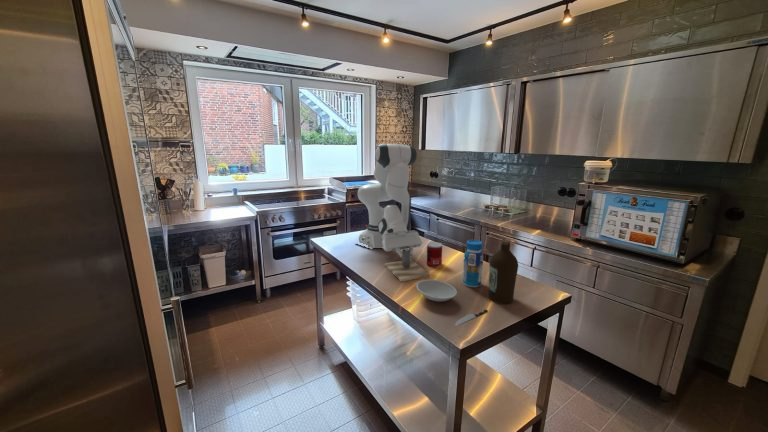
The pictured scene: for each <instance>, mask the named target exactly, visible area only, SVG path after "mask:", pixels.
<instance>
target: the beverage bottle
mask: <svg viewBox="0 0 768 432" xmlns="http://www.w3.org/2000/svg"><path fill="white" fill-rule="evenodd" d="M465 245H466V250H465V252H464V253H463V254H464V255H463V257H464V258H463V271H462V273H463V274H462V284H463V285H464V286H465V287H469V288H478V287H481V285H482V277H483V276H482V275H483V266H484V260H483V259H484V255H483V252H482V250H483V242H482V241H481V240H479V239H469V240H467V241H466V244H465Z"/></svg>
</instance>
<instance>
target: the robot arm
mask: <svg viewBox="0 0 768 432" xmlns="http://www.w3.org/2000/svg"><path fill="white" fill-rule="evenodd" d="M374 153H375V154H374V156H375V157H374V158H375V160H376V163H375V166H374V167H375V168H374V172H373V177H374V179H375V180H376V181H377V182H378V183H369V184H368V183H367V184H364V185H361V186H359V188H358V190H357V197H358V198H357V199H358V201H360V202H361V203H363V204H364V205H365V206H366V208H367V211H368V221H369V223H367V224H366V229H365V230H364V231H362V232H361V233H360V234H359V236H358V240H359V242H360V243H363V244H366V245H368V248H382V247H383V248H382V249H383V250H384V251H385V252H391V251H392V252H394V251H395V252H396V253H397V254H398V255H399V258H400V259H401V258H402V257H404V255H403V253H402V252H401V251H400V250H403V249H405V248H407V249H409V250H410V257H413V256H414V253H413V251H414V248H420V247H421V246H422V244H423V241H422V239H421V237H420V233H419V231H417V230H414V229H413V230H411V229H412V228H411V214H412V213H411V212H412V211H411V210H412V197H411V194H410V192H409V191H408V185H409V181H410V179H409V178H410V166H412V165H414V164H415V163H416V161H417V157H418V154H417V150H416V148H415V147H414V146H412V145H409V144H408V145H406V144H402V143H386V142H385V143H379V144H378V145H377V146H376V149H375V152H374ZM391 200H393V201H395V202H398V203H400V204H401V208H399V206H398V205H396V204H389V205H386V206H385V207H382V206H380V202H388V201H389V202H390V201H391Z"/></svg>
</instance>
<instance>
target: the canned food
mask: <svg viewBox="0 0 768 432" xmlns="http://www.w3.org/2000/svg"><path fill="white" fill-rule="evenodd" d="M426 245H427V246H426V264H427V266H429V267H434V268H435V267H440V266H441V265H442V261H443V243H441V242H437V241H436V242H435V241H434V242H432V241H431V242H427V244H426Z"/></svg>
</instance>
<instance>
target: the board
mask: <svg viewBox="0 0 768 432" xmlns="http://www.w3.org/2000/svg"><path fill="white" fill-rule="evenodd" d="M385 266H386V267H387V268H388V269H389V270H390V271H391V272H392V273H393V274H394V275H395V276H396V277H397V278H398V279H399V280H398V279H397V278H396V279H397V280H398V281H400V282H401V281H403V282H406V281H413V279H414V280H417V279H423V278H430V273H429V272H428V271H427V270H425V268H423V267H422V266H421V265H419V264H417V263H416V262H415V261H413V260H412V259H411V258H410V267H403V266H402V260H398V261H391V262H385V263H384V267H385ZM386 267H385V268H386ZM387 268H386V269H387ZM388 269H387V270H388ZM389 270H388V271H389ZM391 272H390V273H391ZM392 273H391V274H392ZM393 274H392V275H393ZM394 275H393V276H394ZM395 276H394V277H395Z"/></svg>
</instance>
